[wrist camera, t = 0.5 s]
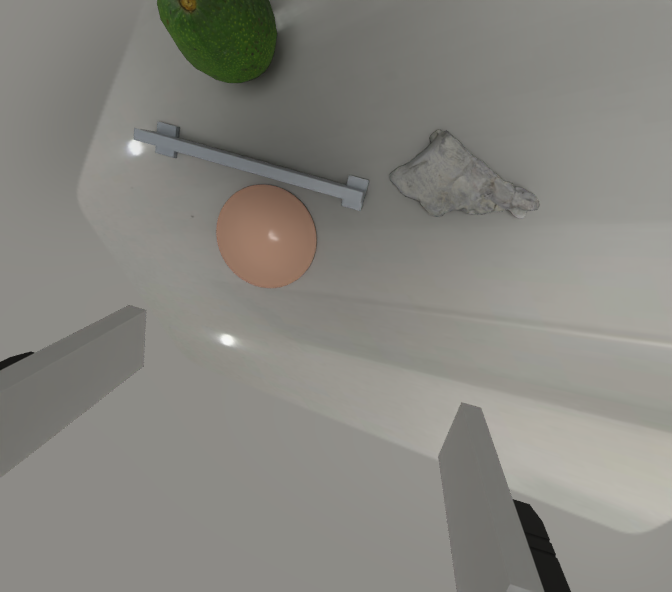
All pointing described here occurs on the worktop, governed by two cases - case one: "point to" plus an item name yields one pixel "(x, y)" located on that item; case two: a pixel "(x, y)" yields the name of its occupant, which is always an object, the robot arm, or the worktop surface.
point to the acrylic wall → (252, 165)
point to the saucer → (266, 236)
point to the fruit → (223, 35)
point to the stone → (458, 182)
